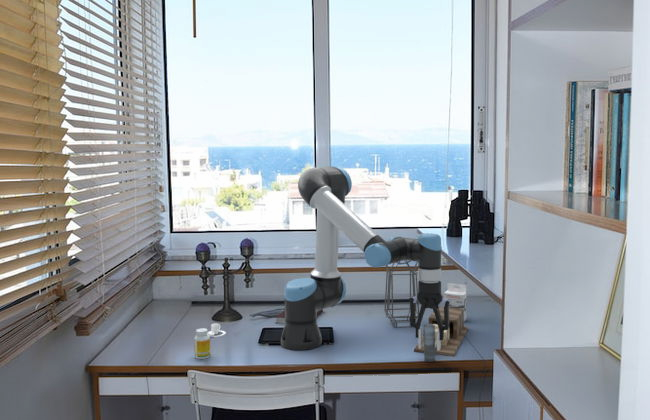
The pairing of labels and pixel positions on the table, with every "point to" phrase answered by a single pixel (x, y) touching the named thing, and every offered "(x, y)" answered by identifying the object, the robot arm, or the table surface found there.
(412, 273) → the geometric lantern
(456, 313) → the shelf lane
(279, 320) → the book
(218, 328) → the teacup and saucer
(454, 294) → the ink box
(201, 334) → the supplement bottle
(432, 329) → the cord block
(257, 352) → the table surface
